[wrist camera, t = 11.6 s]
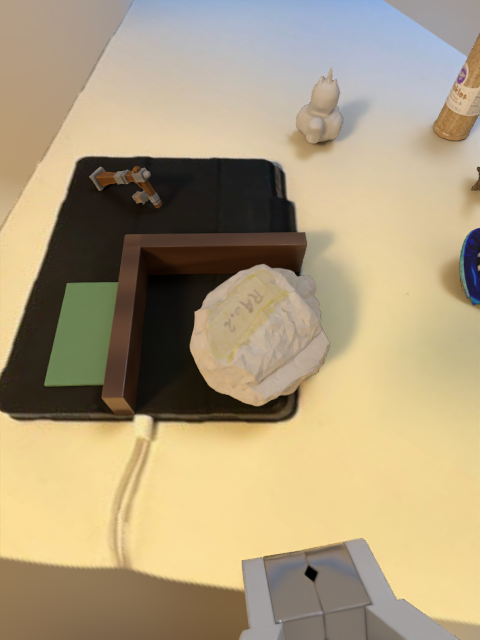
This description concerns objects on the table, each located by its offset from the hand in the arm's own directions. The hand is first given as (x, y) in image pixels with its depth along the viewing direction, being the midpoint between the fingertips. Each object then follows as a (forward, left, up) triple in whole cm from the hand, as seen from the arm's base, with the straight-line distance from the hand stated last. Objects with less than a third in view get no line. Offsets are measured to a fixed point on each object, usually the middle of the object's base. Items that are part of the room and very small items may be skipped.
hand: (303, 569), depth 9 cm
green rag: (+7, +20, -19) cm, 29 cm away
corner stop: (+13, +11, -19) cm, 26 cm away
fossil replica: (+13, +7, -19) cm, 24 cm away
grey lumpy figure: (+42, +15, -19) cm, 49 cm away
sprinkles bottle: (+53, +1, -19) cm, 57 cm away
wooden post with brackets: (+22, +28, -19) cm, 41 cm away
